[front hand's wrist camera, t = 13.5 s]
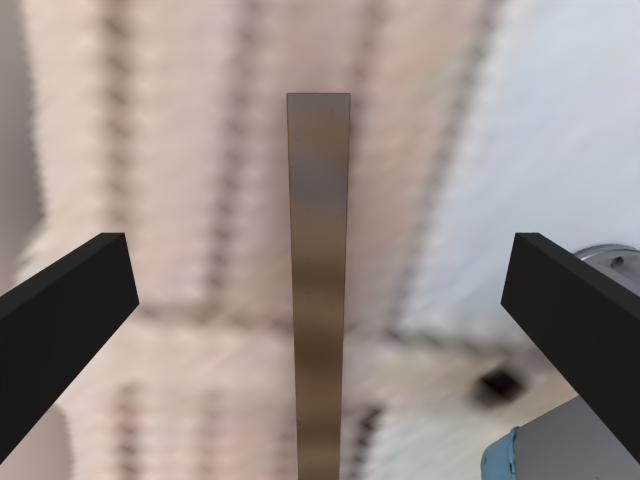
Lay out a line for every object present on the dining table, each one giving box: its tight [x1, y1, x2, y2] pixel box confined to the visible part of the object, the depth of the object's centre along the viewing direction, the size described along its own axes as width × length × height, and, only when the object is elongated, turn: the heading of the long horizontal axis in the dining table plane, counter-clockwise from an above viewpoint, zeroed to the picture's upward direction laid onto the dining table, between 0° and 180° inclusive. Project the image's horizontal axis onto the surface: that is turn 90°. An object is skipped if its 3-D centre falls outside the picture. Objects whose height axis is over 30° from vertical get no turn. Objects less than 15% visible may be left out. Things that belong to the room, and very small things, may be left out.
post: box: [287, 93, 350, 480], centre depth 45 cm, size 71×5×7 cm, turn 0°
